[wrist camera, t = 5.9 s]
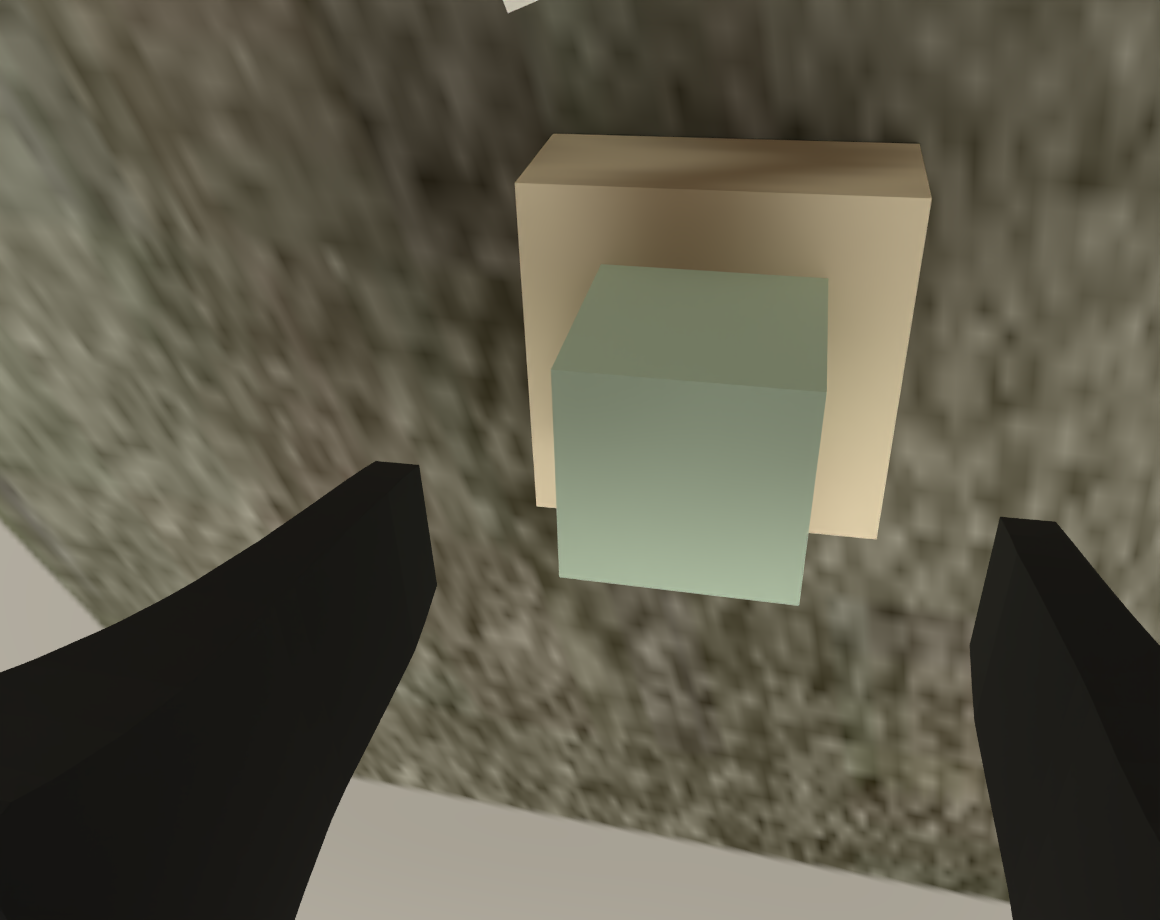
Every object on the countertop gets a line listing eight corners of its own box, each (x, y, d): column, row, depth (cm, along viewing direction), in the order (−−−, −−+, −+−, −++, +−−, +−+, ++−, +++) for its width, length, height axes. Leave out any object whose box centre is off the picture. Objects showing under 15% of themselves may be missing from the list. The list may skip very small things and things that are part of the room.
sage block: (828, 278, 18) (826, 392, 14) (804, 469, 20) (798, 605, 17) (601, 264, 18) (550, 369, 15) (602, 450, 21) (559, 577, 17)
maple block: (919, 143, 19) (932, 197, 17) (872, 457, 23) (876, 539, 20) (552, 133, 20) (514, 182, 18) (566, 432, 24) (536, 506, 22)
